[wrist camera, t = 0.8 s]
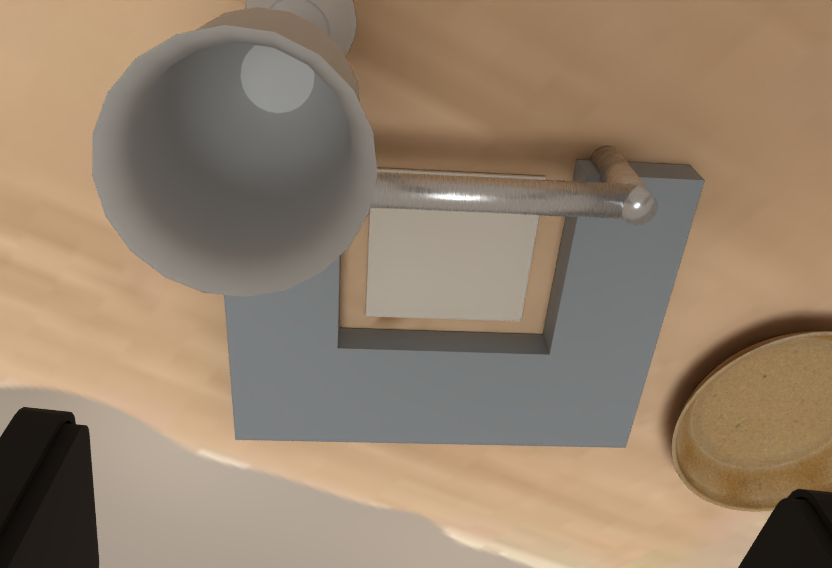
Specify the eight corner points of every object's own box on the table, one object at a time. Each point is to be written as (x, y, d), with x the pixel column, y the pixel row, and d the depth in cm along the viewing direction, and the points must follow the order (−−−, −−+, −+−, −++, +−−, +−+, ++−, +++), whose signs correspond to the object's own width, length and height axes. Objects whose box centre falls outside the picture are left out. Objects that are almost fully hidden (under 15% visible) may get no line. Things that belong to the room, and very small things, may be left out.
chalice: (318, 125, 36) (274, 338, 21) (195, 39, 34) (41, 208, 18) (408, 1, 33) (436, 141, 18) (281, -103, 31) (185, -45, 15)
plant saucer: (759, 511, 53) (776, 541, 50) (611, 427, 48) (623, 456, 46) (937, 377, 47) (965, 404, 45) (788, 265, 42) (812, 289, 40)
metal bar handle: (624, 146, 37) (661, 193, 32) (617, 176, 38) (653, 226, 33) (296, 129, 36) (283, 176, 31) (296, 160, 37) (284, 209, 32)
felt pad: (545, 176, 38) (545, 177, 38) (520, 319, 43) (520, 321, 42) (371, 167, 37) (371, 169, 37) (365, 314, 42) (365, 316, 42)
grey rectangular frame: (689, 165, 38) (704, 180, 36) (616, 425, 47) (625, 447, 46) (221, 141, 36) (213, 156, 34) (240, 417, 45) (235, 439, 44)
